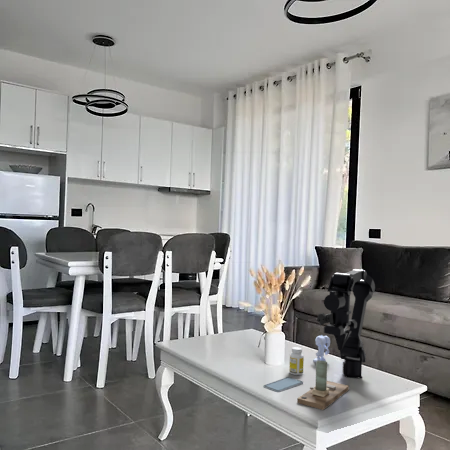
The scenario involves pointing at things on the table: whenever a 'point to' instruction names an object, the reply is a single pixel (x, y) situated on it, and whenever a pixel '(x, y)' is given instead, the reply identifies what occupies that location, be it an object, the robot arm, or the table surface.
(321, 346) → the toy figurine
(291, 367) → the supplement bottle
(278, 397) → the table surface
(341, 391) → the stepped wooden base
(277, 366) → the table surface
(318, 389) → the pale green upright block
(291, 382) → the smartphone
